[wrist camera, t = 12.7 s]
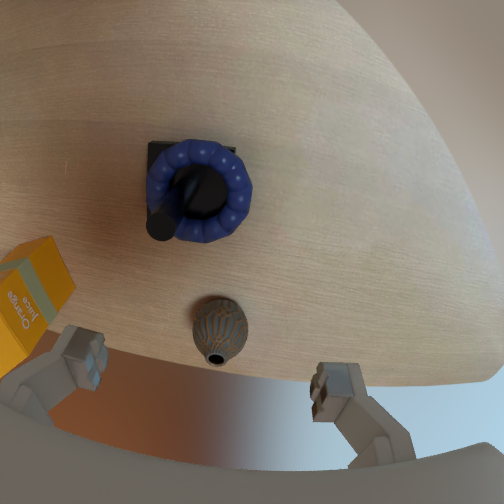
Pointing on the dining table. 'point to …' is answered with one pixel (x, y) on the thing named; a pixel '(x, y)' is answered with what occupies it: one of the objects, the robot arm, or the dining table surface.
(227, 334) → the vase
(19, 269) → the orange juice
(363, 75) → the dining table surface
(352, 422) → the robot arm
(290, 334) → the dining table surface
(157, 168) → the ring
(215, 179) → the black post stand
